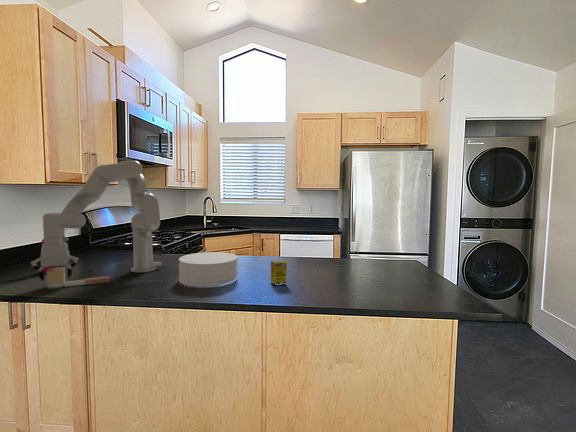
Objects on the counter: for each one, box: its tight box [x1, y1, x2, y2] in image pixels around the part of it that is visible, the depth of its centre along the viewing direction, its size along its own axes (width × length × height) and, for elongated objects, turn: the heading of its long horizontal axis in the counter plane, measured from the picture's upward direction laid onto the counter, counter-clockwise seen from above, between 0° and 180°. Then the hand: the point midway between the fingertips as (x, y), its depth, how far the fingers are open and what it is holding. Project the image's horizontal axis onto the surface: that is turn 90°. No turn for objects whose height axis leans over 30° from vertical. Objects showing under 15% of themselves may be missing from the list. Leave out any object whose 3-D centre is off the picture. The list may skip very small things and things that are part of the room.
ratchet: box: [46, 275, 111, 290], centre depth 146 cm, size 24×6×6 cm, turn 119°
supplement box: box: [269, 260, 288, 284], centre depth 151 cm, size 6×6×11 cm
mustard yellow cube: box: [46, 266, 66, 285], centre depth 142 cm, size 6×6×6 cm
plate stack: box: [178, 251, 238, 286], centre depth 156 cm, size 28×28×12 cm
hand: (56, 278), depth 142 cm, fingers open, 9 cm apart
